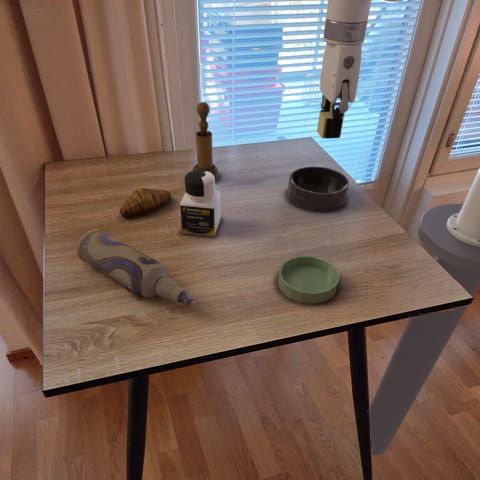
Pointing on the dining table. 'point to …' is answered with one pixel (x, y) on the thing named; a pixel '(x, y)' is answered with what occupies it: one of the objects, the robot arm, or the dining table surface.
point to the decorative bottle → (129, 267)
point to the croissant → (144, 201)
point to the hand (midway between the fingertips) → (328, 132)
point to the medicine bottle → (200, 204)
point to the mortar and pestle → (204, 143)
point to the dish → (308, 279)
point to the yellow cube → (323, 123)
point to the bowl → (317, 188)
